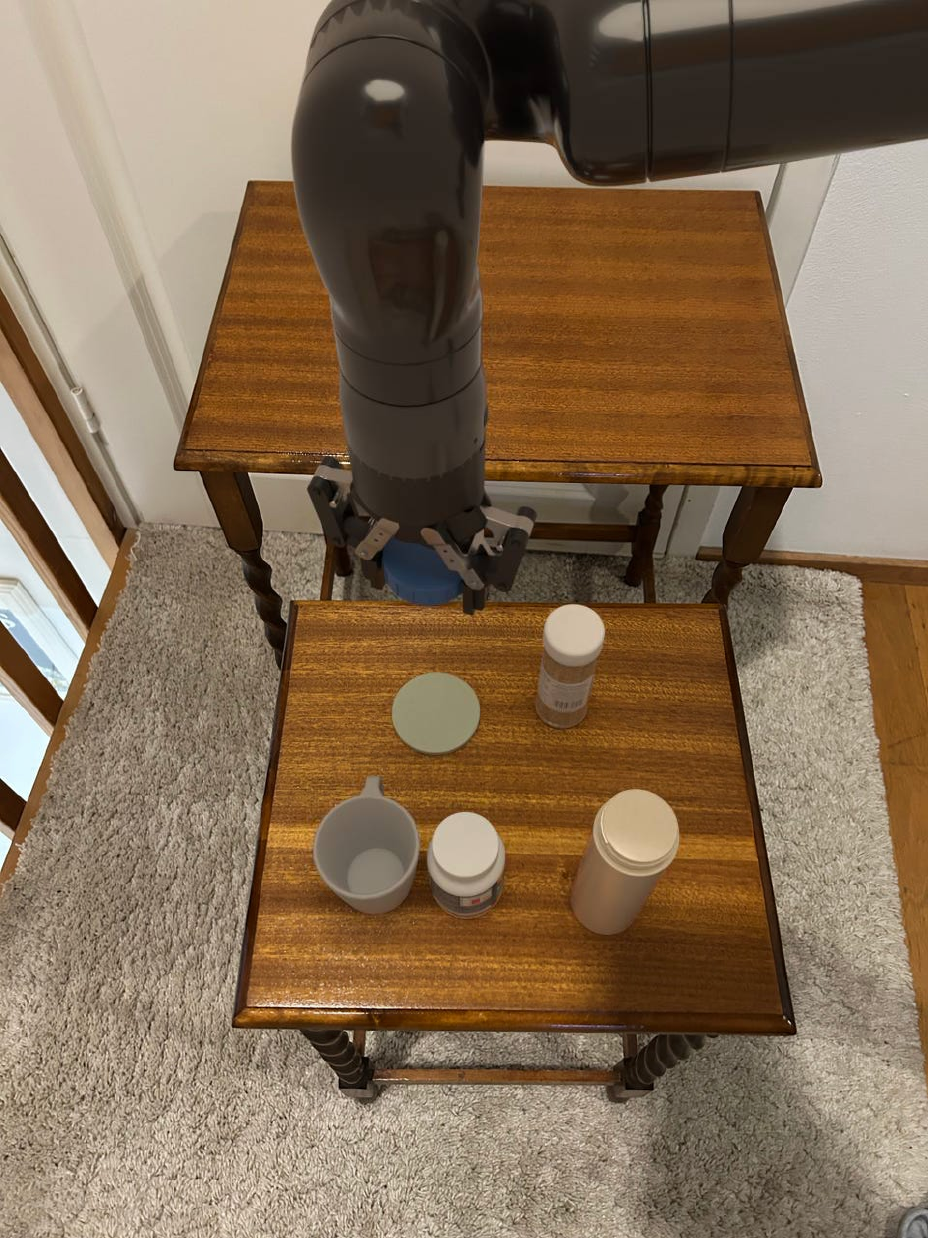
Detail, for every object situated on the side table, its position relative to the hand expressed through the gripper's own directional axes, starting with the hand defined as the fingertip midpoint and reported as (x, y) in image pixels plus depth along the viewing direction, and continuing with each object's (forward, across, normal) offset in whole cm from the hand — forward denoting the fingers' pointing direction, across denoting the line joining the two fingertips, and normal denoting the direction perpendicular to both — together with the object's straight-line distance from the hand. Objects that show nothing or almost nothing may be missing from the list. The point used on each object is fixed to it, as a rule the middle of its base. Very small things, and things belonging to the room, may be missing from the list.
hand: (427, 590), depth 64 cm
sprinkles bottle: (+20, +10, +4) cm, 23 cm away
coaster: (+20, 0, 0) cm, 20 cm away
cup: (+20, 0, -14) cm, 24 cm away
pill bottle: (+20, +7, -13) cm, 25 cm away
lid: (-3, 0, +1) cm, 3 cm away
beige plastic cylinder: (+20, +18, -11) cm, 28 cm away
